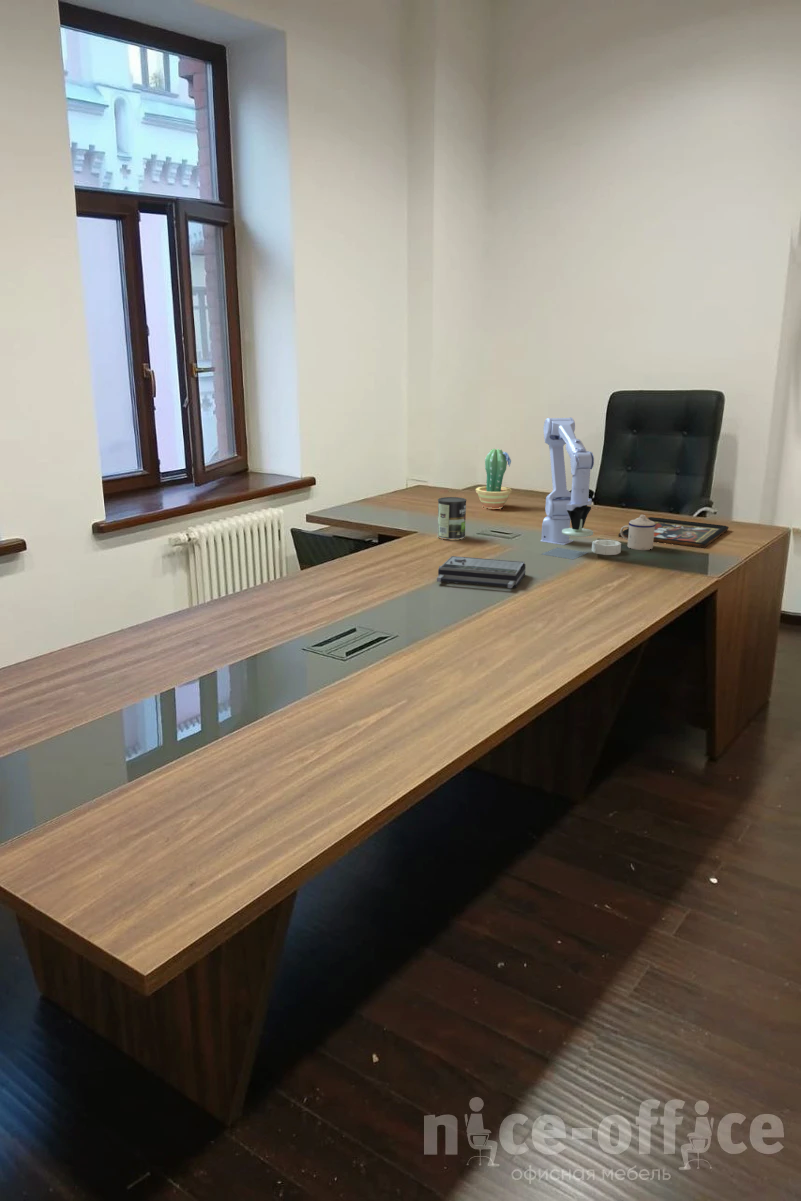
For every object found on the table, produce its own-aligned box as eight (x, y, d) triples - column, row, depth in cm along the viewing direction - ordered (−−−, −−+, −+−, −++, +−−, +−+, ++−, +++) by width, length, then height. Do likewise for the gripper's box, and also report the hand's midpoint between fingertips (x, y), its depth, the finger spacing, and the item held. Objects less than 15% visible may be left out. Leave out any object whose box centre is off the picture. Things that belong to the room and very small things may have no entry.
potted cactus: (501, 512, 372) (503, 452, 365) (468, 508, 380) (470, 449, 373) (517, 506, 385) (520, 448, 377) (485, 503, 393) (487, 445, 385)
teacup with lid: (656, 546, 315) (659, 514, 312) (649, 552, 308) (652, 518, 305) (623, 542, 321) (625, 510, 318) (615, 547, 314) (617, 514, 310)
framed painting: (637, 521, 359) (637, 514, 358) (729, 530, 345) (730, 523, 344) (615, 541, 326) (616, 534, 326) (716, 553, 312) (717, 545, 311)
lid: (556, 534, 302) (557, 520, 300) (570, 528, 310) (570, 515, 308) (585, 538, 296) (586, 523, 294) (598, 532, 304) (599, 518, 302)
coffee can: (468, 535, 331) (469, 497, 327) (461, 541, 322) (462, 502, 318) (441, 533, 334) (442, 496, 330) (433, 539, 325) (434, 500, 321)
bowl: (588, 553, 306) (588, 543, 305) (599, 548, 313) (600, 538, 312) (612, 557, 301) (613, 547, 300) (623, 552, 308) (624, 542, 307)
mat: (540, 555, 303) (540, 554, 303) (557, 548, 312) (557, 547, 312) (573, 560, 296) (573, 559, 296) (588, 553, 305) (589, 552, 305)
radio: (526, 559, 278) (514, 575, 259) (525, 575, 279) (513, 593, 261) (449, 553, 285) (433, 568, 266) (449, 569, 286) (432, 585, 268)
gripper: (581, 492, 290) (578, 533, 294) (601, 486, 301) (598, 526, 305) (561, 490, 294) (559, 530, 298) (581, 484, 305) (579, 523, 309)
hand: (577, 528), depth 302 cm, fingers closed on lid, 3 cm apart
